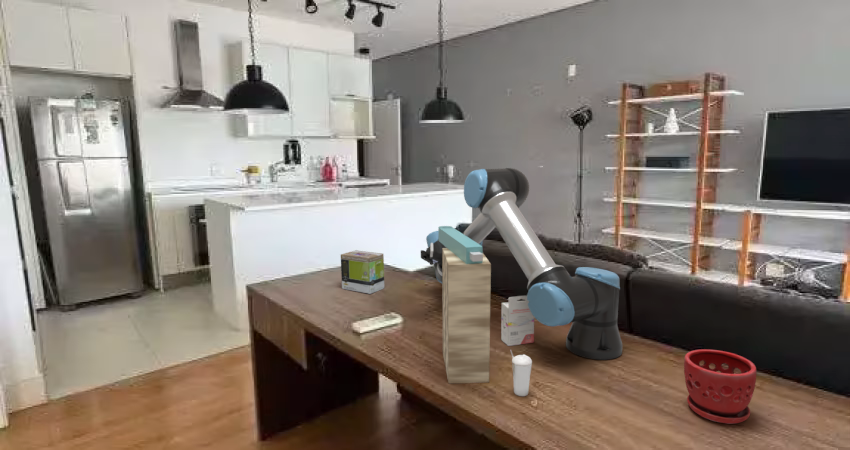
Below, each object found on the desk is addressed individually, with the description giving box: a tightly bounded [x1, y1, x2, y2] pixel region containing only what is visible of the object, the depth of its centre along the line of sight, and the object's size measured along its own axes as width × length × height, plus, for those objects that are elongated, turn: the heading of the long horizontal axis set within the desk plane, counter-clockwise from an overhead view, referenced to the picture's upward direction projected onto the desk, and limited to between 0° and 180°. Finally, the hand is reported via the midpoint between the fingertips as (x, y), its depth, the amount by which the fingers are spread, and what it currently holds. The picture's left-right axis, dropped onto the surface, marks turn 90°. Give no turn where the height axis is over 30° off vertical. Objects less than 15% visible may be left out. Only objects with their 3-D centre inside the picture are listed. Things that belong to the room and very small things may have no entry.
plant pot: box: [683, 348, 757, 425], centre depth 102 cm, size 13×13×12 cm
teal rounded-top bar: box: [437, 225, 484, 264], centre depth 125 cm, size 33×4×4 cm, turn 12°
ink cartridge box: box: [500, 295, 535, 347], centre depth 139 cm, size 9×5×15 cm, turn 105°
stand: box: [441, 248, 492, 384], centre depth 122 cm, size 18×10×30 cm, turn 3°
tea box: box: [340, 249, 385, 295], centre depth 192 cm, size 15×10×15 cm, turn 58°
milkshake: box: [510, 349, 533, 397], centre depth 111 cm, size 4×5×10 cm
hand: (453, 246), depth 146 cm, fingers open, 13 cm apart
